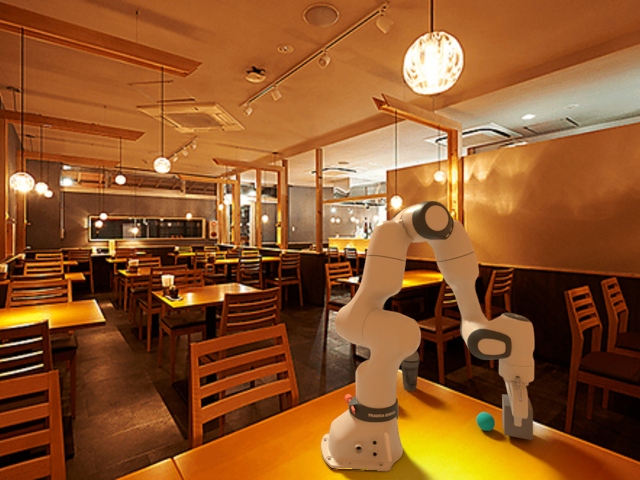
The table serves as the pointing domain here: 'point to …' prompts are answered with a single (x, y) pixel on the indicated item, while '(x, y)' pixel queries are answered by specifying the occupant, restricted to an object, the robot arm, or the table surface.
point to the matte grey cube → (508, 421)
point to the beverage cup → (410, 371)
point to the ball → (485, 421)
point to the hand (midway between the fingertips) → (515, 417)
